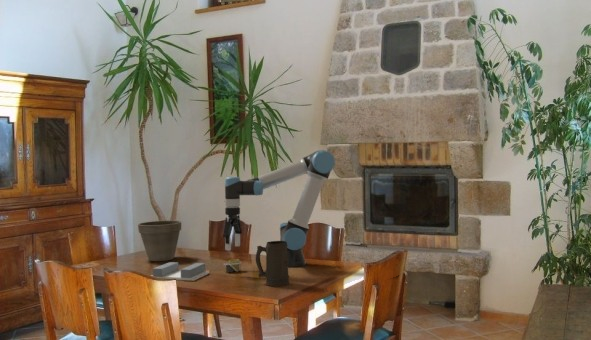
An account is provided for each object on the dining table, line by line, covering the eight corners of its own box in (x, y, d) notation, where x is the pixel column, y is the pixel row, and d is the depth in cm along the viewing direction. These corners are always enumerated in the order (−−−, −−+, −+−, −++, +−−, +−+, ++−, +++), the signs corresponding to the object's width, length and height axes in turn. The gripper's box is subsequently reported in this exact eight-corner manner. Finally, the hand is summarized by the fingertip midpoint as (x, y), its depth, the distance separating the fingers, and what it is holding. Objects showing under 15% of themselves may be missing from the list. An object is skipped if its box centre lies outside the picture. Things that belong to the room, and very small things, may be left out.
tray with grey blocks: (208, 273, 318) (208, 263, 318) (194, 280, 301) (193, 269, 301) (166, 272, 325) (166, 262, 325) (149, 278, 308) (148, 268, 307)
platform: (254, 272, 323) (254, 259, 322) (224, 276, 312) (224, 263, 312) (242, 268, 332) (242, 256, 332) (212, 273, 322) (212, 260, 321)
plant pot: (130, 262, 358) (129, 224, 357) (153, 255, 381) (152, 219, 380) (168, 263, 350) (167, 225, 349) (189, 256, 373) (188, 220, 373)
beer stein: (290, 281, 295) (286, 239, 295) (291, 285, 284) (287, 242, 284) (258, 284, 295) (254, 242, 294) (257, 289, 284) (253, 245, 283)
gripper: (234, 204, 334) (234, 244, 335) (216, 208, 310) (216, 251, 311) (247, 205, 332) (247, 244, 333) (230, 209, 308) (230, 252, 309)
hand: (232, 248), depth 322 cm, fingers open, 13 cm apart
